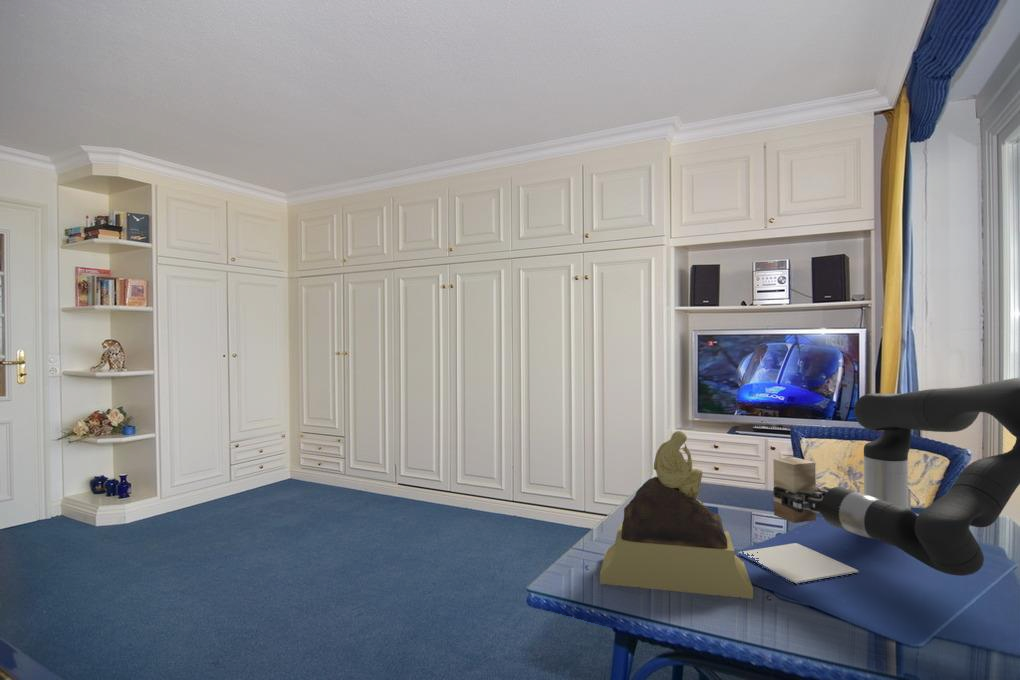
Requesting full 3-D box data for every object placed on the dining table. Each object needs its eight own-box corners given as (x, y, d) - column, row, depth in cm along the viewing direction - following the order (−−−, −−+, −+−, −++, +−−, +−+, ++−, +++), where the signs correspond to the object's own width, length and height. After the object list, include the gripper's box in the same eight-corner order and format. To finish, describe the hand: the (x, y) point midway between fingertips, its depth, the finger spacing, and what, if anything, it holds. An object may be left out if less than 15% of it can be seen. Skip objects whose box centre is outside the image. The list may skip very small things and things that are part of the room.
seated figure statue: (743, 571, 117) (742, 426, 117) (753, 599, 105) (751, 437, 104) (606, 559, 125) (604, 422, 124) (599, 584, 112) (598, 432, 112)
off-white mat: (796, 545, 130) (796, 542, 130) (858, 573, 115) (858, 570, 115) (738, 554, 125) (738, 552, 125) (795, 584, 110) (795, 581, 110)
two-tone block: (815, 462, 118) (816, 520, 118) (794, 457, 123) (795, 512, 123) (793, 464, 116) (794, 523, 116) (773, 459, 122) (774, 515, 122)
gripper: (826, 537, 104) (759, 510, 120) (885, 528, 108) (812, 504, 124) (825, 496, 104) (758, 475, 120) (884, 488, 108) (812, 469, 124)
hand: (786, 490), depth 122 cm, fingers closed on two-tone block, 5 cm apart
